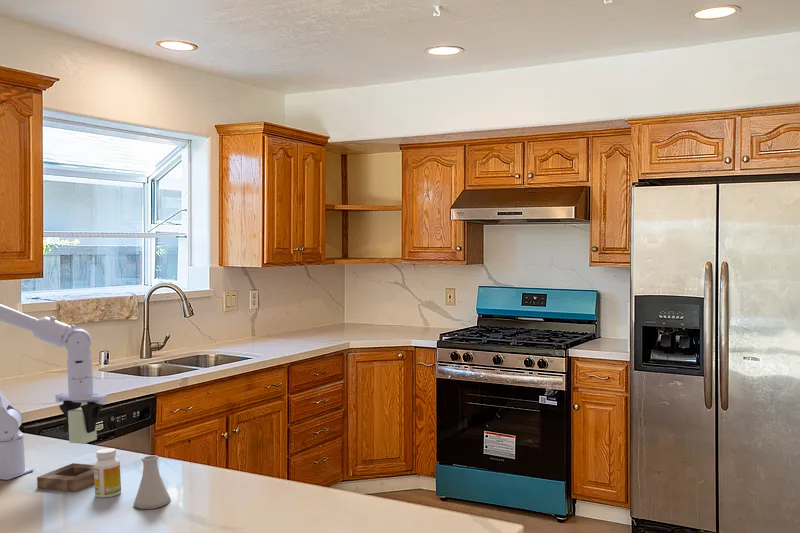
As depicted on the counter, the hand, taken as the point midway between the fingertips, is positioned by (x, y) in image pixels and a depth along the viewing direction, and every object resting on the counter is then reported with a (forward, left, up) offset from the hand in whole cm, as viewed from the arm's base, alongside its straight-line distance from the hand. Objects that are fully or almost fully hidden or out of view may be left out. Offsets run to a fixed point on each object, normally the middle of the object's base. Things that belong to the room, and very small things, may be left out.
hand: (82, 431), depth 191 cm
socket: (+8, -12, -8) cm, 17 cm away
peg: (0, 0, -2) cm, 2 cm away
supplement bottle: (+22, -17, -9) cm, 29 cm away
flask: (+36, -20, -9) cm, 42 cm away
